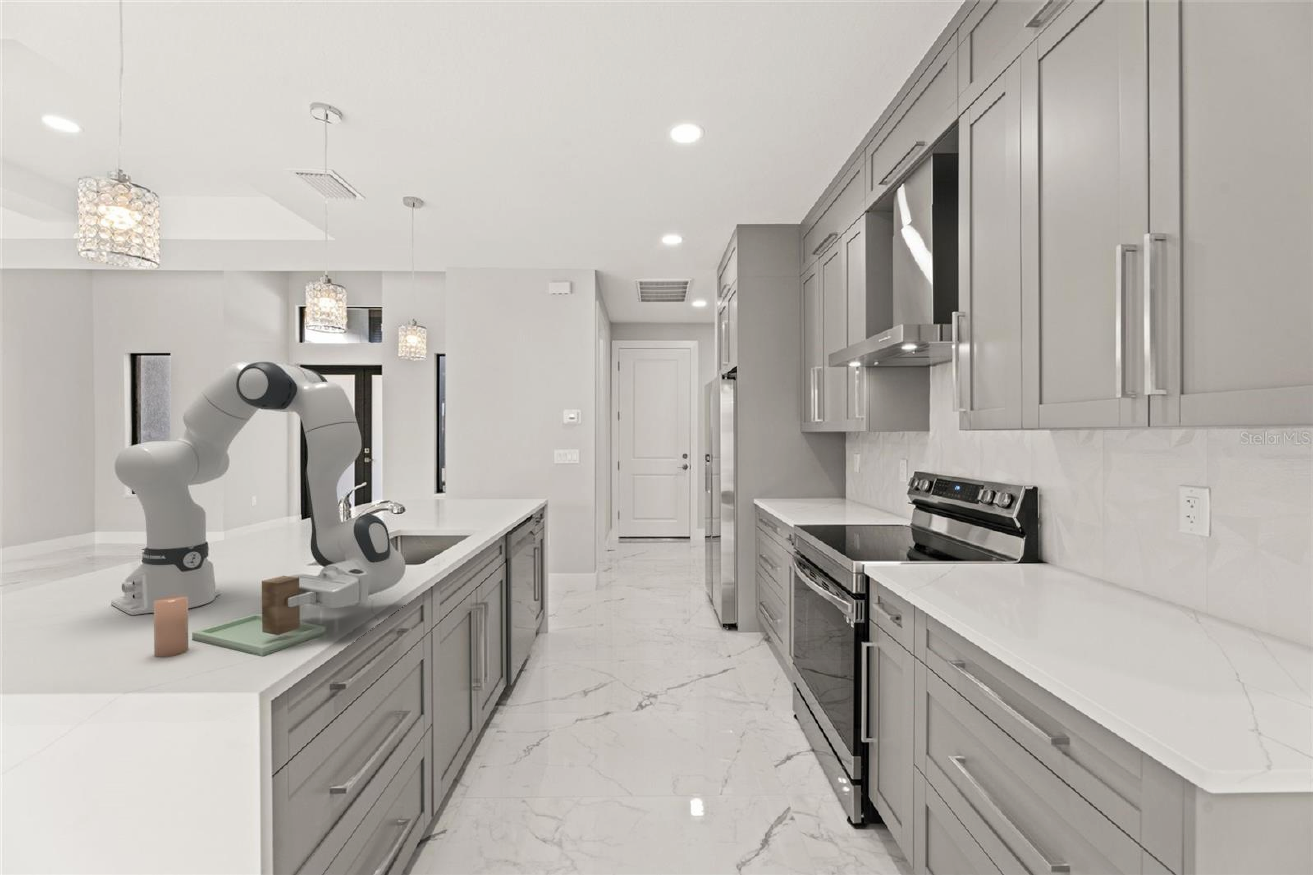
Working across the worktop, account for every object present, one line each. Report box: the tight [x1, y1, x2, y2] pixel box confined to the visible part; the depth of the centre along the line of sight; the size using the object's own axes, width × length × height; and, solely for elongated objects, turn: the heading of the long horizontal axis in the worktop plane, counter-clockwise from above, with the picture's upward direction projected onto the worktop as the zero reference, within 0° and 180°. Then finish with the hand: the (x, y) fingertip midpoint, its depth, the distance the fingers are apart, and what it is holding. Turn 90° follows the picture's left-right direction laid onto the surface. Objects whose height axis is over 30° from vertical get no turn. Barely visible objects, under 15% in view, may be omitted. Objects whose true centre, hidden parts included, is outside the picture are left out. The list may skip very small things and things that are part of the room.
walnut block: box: [261, 575, 301, 635], centre depth 119 cm, size 4×4×10 cm
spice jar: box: [153, 595, 189, 658], centre depth 114 cm, size 5×5×10 cm
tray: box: [191, 613, 326, 657], centre depth 122 cm, size 21×13×2 cm, turn 67°
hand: (276, 600), depth 118 cm, fingers closed on walnut block, 4 cm apart
